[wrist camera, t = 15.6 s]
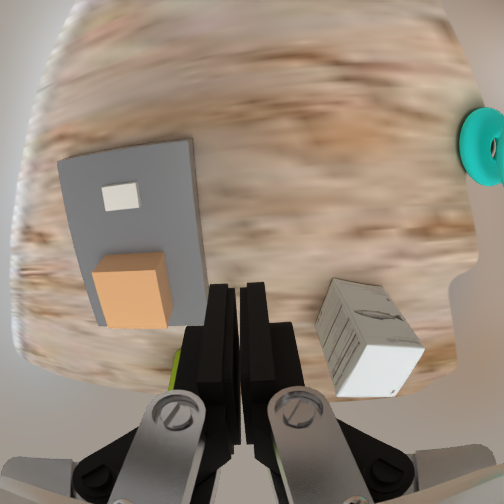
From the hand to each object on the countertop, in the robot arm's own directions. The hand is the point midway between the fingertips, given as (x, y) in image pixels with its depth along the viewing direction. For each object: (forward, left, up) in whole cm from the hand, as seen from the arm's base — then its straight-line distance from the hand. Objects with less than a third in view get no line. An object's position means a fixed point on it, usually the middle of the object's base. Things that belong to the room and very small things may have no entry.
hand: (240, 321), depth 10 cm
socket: (+6, -11, -24) cm, 27 cm away
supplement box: (+17, +13, -24) cm, 32 cm away
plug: (+10, -11, -24) cm, 28 cm away
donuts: (-4, +31, -24) cm, 39 cm away
